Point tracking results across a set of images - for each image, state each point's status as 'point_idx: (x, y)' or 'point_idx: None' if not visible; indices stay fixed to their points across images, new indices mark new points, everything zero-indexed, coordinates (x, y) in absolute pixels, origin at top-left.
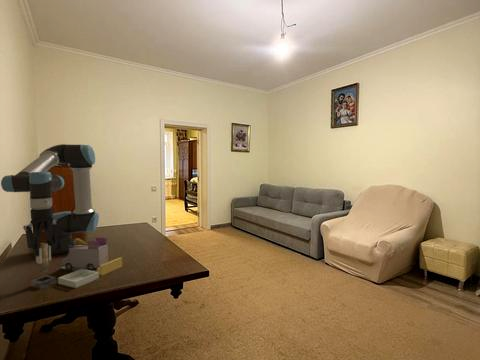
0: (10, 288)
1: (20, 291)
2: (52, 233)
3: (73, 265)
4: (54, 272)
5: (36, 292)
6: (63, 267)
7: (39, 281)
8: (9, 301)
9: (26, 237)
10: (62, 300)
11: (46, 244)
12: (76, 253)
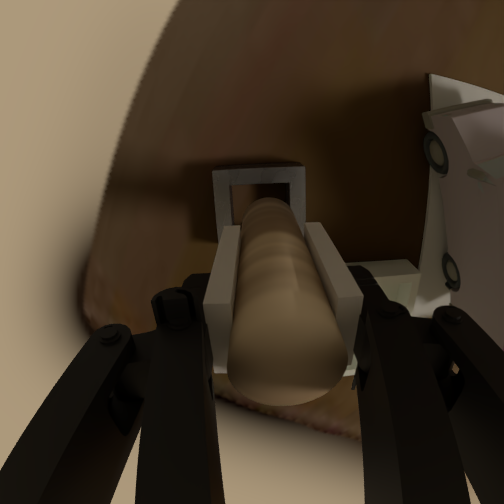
0: (155, 97)
1: (162, 181)
2: (490, 431)
3: (444, 186)
4: (383, 89)
5: (196, 260)
6: (436, 84)
7: (230, 225)
8: (105, 248)
9: (12, 451)
10: (215, 389)
11: (299, 400)
12: (493, 230)
